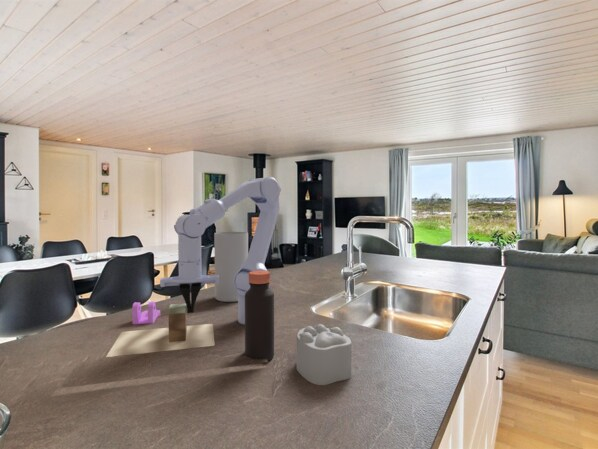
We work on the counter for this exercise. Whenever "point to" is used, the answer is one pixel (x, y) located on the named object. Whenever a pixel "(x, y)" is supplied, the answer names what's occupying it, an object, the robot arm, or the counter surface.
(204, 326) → the birch board
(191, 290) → the robot arm
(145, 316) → the bracket
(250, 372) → the counter surface
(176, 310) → the walnut block
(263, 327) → the bottle
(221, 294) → the cylinder vase
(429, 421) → the counter surface
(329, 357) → the lumpy-topped squat cylinder
